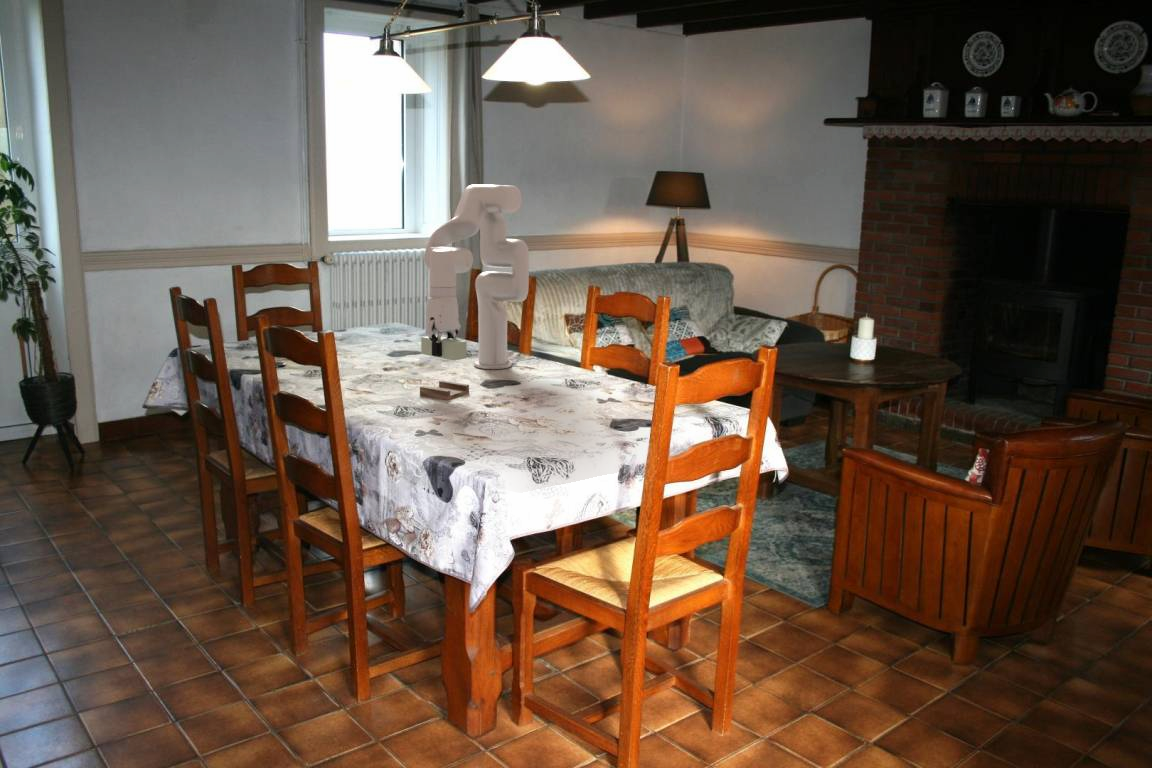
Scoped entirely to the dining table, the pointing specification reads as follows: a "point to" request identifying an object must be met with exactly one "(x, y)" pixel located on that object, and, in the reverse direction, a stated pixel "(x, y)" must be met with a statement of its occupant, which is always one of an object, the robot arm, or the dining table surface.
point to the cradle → (445, 390)
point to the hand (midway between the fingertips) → (443, 353)
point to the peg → (446, 348)
